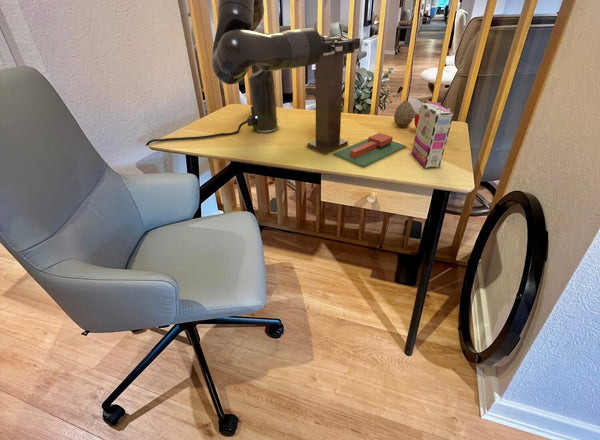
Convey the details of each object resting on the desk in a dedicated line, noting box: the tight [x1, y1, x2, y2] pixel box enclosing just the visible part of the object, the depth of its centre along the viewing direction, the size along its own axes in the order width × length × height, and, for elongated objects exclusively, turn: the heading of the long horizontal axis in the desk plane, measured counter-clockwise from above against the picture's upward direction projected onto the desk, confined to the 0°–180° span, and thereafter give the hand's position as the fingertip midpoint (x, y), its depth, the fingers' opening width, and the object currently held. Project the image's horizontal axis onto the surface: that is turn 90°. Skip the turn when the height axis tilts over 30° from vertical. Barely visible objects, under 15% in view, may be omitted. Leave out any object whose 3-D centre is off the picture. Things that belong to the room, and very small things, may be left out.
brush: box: [350, 132, 394, 159], centre depth 103 cm, size 17×6×3 cm, turn 130°
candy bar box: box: [411, 102, 455, 169], centre depth 93 cm, size 11×5×16 cm, turn 5°
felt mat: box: [333, 138, 407, 168], centre depth 105 cm, size 22×13×1 cm, turn 130°
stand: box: [307, 40, 349, 156], centre depth 100 cm, size 11×9×32 cm
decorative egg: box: [393, 100, 415, 128], centre depth 119 cm, size 7×7×10 cm
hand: (345, 41), depth 78 cm, fingers open, 8 cm apart
